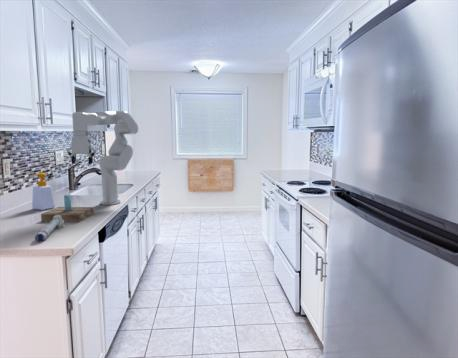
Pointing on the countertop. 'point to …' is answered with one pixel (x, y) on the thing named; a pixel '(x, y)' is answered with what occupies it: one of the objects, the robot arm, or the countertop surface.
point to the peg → (67, 202)
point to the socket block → (68, 214)
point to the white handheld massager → (49, 228)
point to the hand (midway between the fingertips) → (82, 163)
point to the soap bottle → (42, 194)
